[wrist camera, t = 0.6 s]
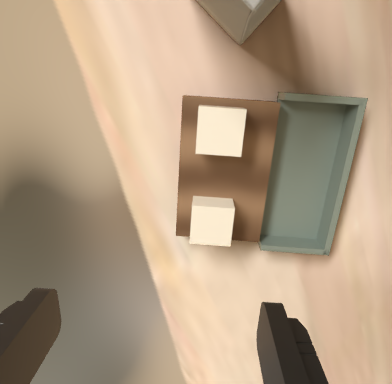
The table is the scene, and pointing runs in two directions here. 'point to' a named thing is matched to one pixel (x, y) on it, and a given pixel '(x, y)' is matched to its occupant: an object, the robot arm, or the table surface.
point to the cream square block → (212, 221)
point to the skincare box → (239, 15)
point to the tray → (309, 171)
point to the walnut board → (228, 166)
